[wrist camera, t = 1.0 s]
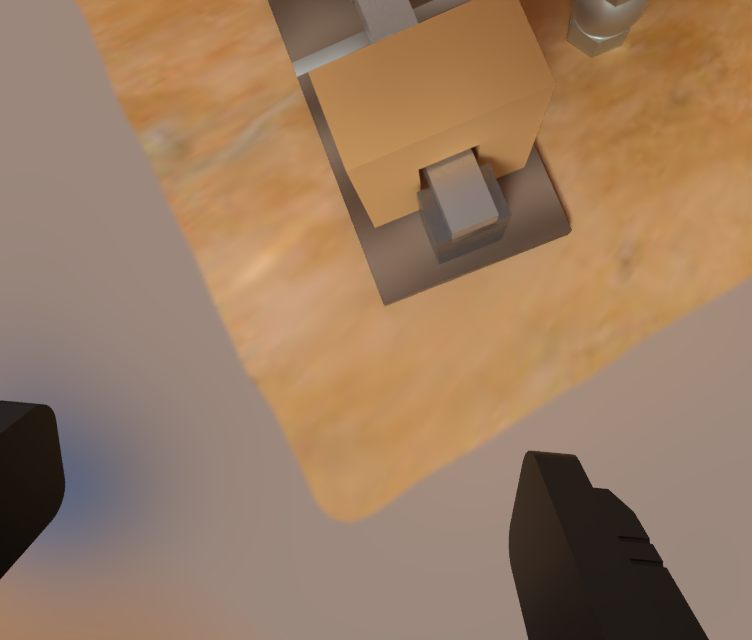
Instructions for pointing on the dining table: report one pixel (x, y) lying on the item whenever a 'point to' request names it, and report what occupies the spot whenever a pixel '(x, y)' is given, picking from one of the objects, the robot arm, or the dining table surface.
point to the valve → (602, 23)
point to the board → (407, 234)
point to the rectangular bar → (446, 167)
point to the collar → (435, 101)
